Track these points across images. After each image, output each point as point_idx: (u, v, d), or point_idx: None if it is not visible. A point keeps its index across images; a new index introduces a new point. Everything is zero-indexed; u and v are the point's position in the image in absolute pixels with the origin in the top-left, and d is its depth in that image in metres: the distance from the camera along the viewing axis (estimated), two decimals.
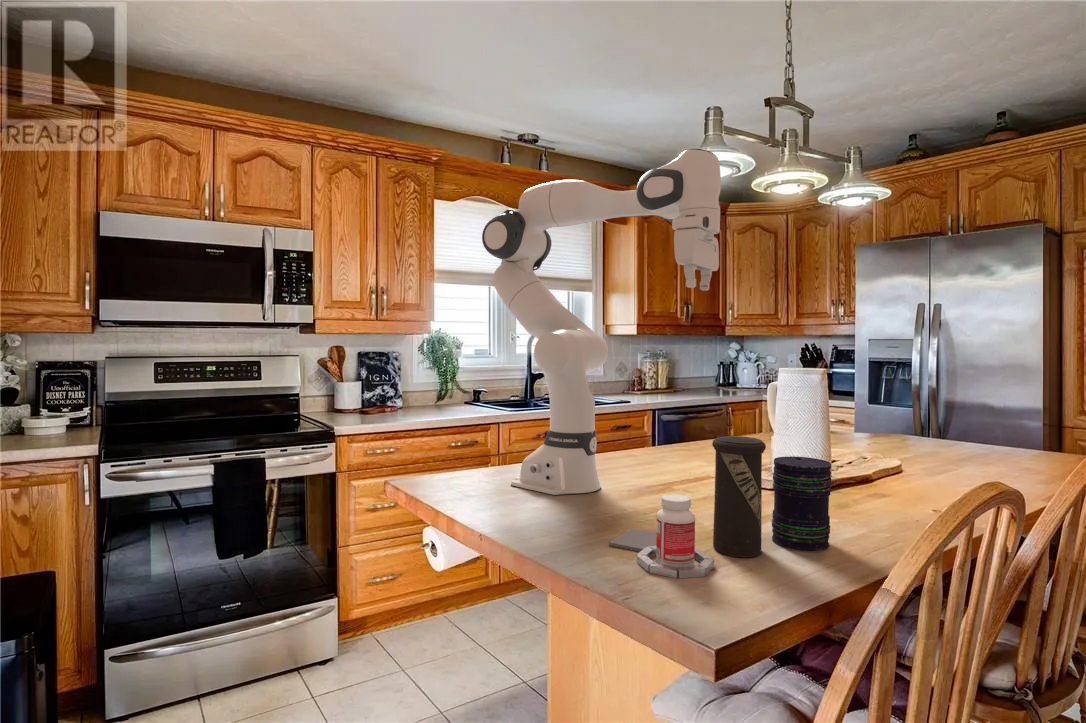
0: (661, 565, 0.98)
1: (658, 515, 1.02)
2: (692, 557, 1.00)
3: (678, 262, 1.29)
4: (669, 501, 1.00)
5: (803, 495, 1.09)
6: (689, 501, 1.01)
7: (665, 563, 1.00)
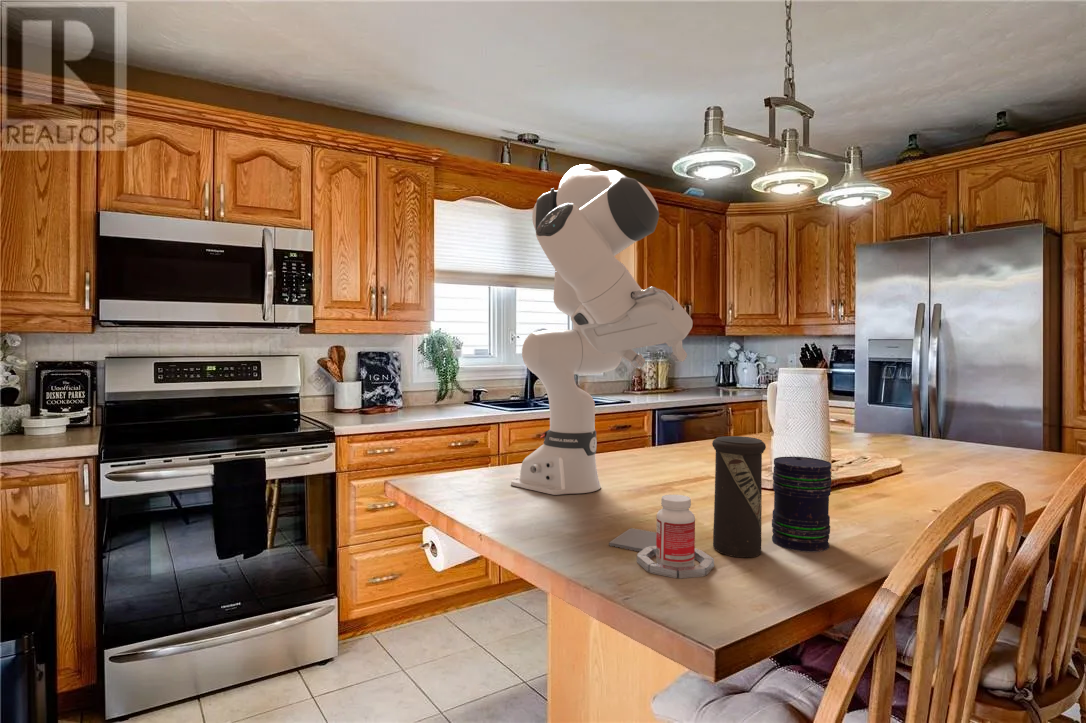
0: (661, 565, 0.98)
1: (658, 515, 1.02)
2: (692, 557, 1.00)
3: None
4: (669, 501, 1.00)
5: (803, 495, 1.09)
6: (689, 501, 1.01)
7: (665, 563, 1.00)
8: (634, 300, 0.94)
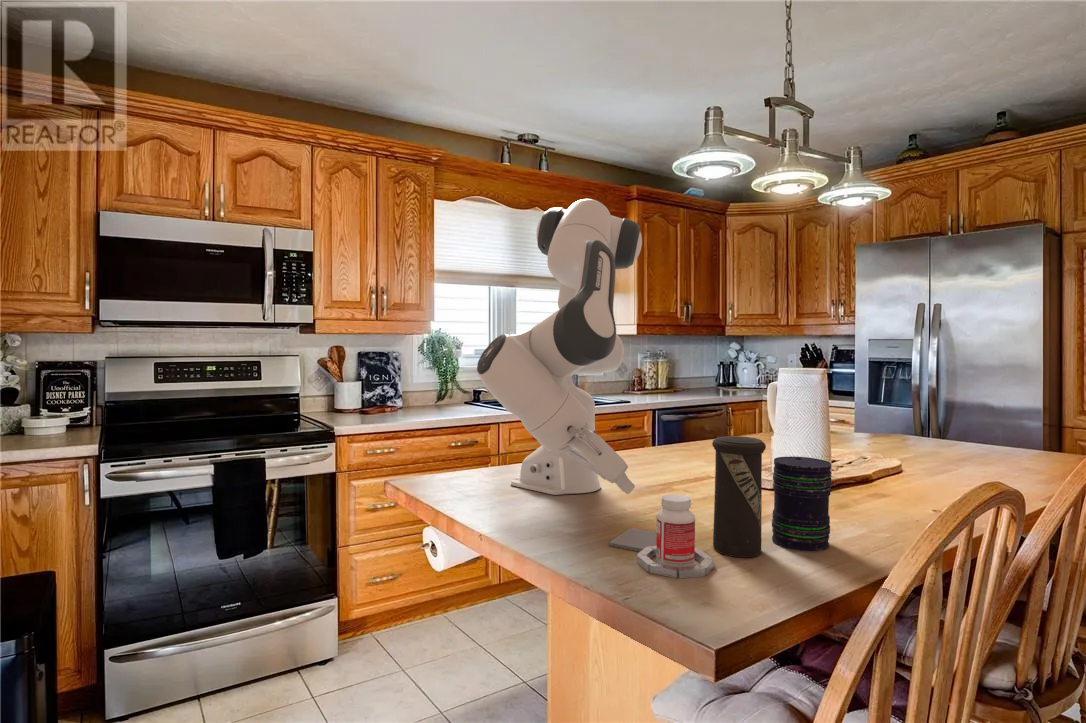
0: (661, 565, 0.98)
1: (658, 515, 1.02)
2: (692, 557, 1.00)
3: None
4: (669, 501, 1.00)
5: (803, 495, 1.09)
6: (689, 501, 1.01)
7: (665, 563, 1.00)
8: (571, 434, 0.92)
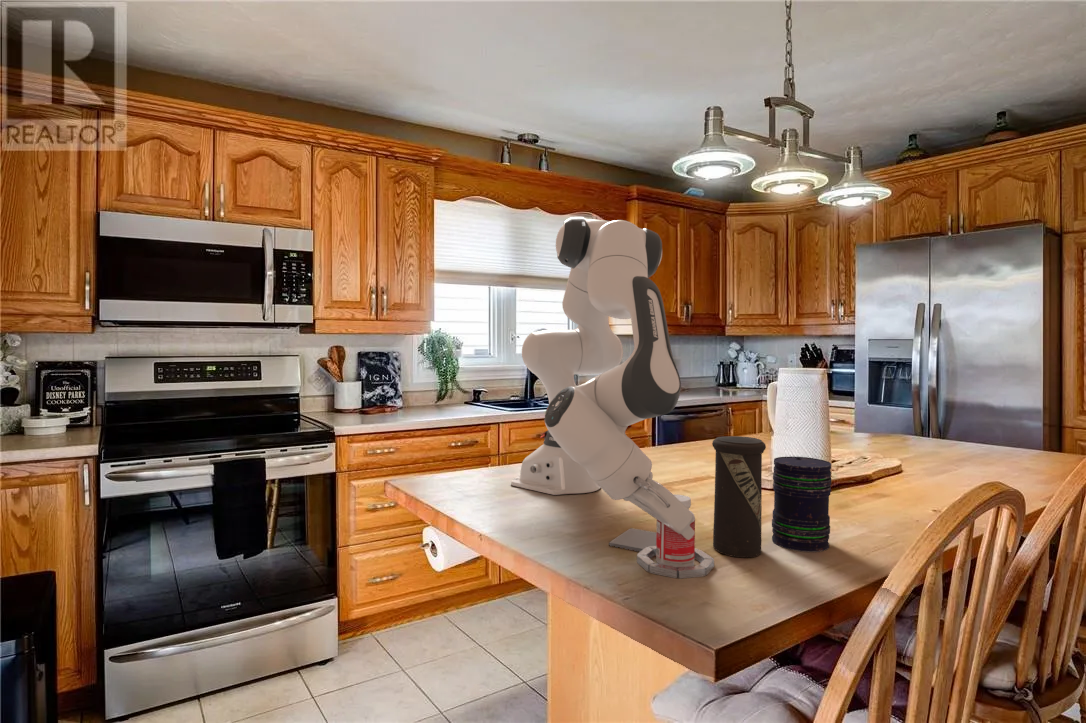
0: (661, 565, 0.98)
1: None
2: (692, 557, 1.00)
3: None
4: None
5: (803, 495, 1.09)
6: (689, 501, 1.01)
7: (665, 563, 1.00)
8: (637, 485, 0.95)
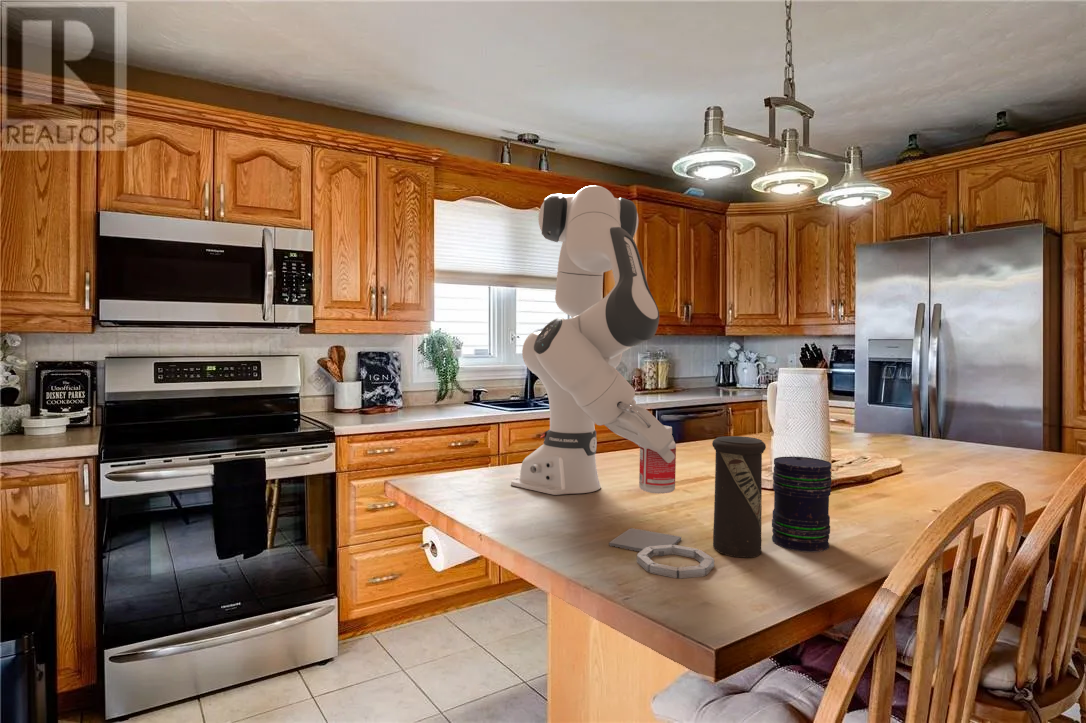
0: (661, 565, 0.98)
1: None
2: (672, 482, 1.06)
3: None
4: None
5: (803, 495, 1.09)
6: (670, 429, 1.07)
7: (647, 487, 1.06)
8: (621, 409, 1.01)
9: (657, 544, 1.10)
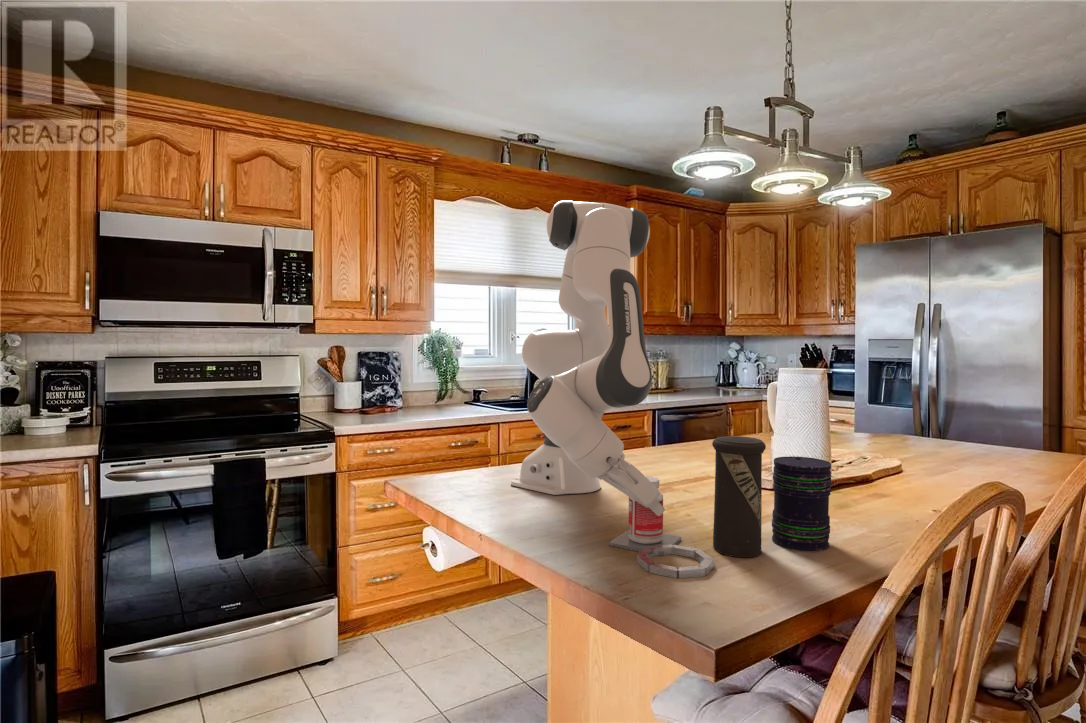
0: (661, 565, 0.98)
1: None
2: (660, 533, 1.11)
3: None
4: None
5: (803, 495, 1.09)
6: (657, 482, 1.11)
7: (636, 538, 1.11)
8: (610, 464, 1.06)
9: (657, 544, 1.10)
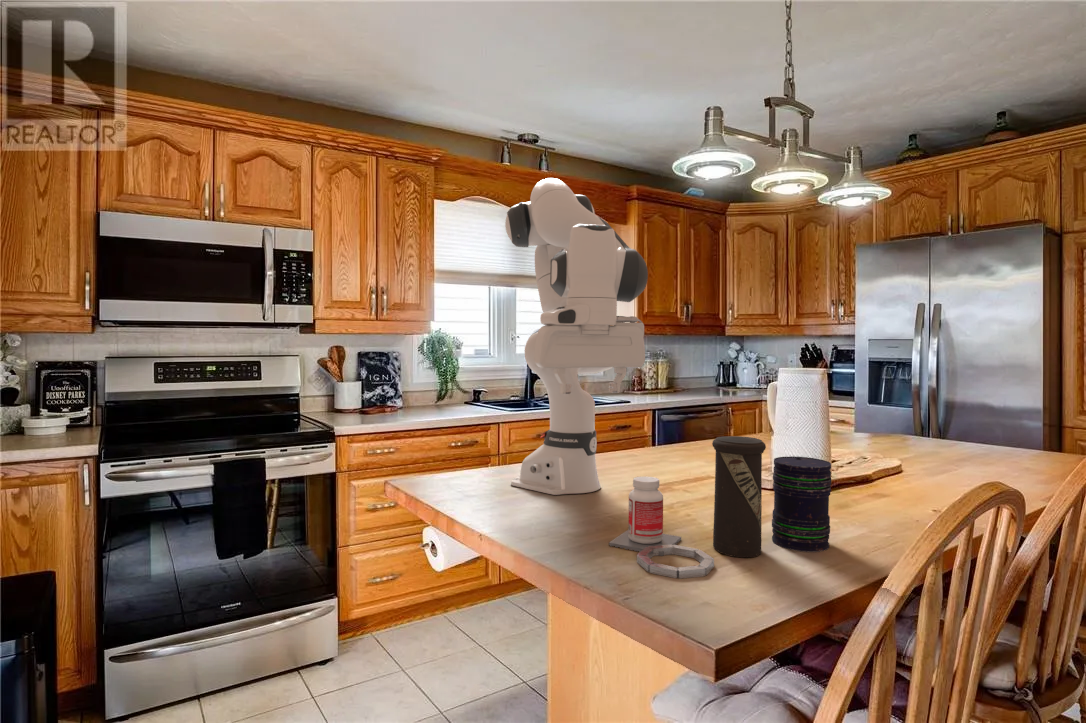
0: (661, 565, 0.98)
1: (630, 495, 1.12)
2: (660, 532, 1.11)
3: (537, 365, 1.09)
4: (639, 482, 1.11)
5: (803, 495, 1.09)
6: (657, 482, 1.11)
7: (636, 538, 1.11)
8: None
9: (657, 544, 1.10)
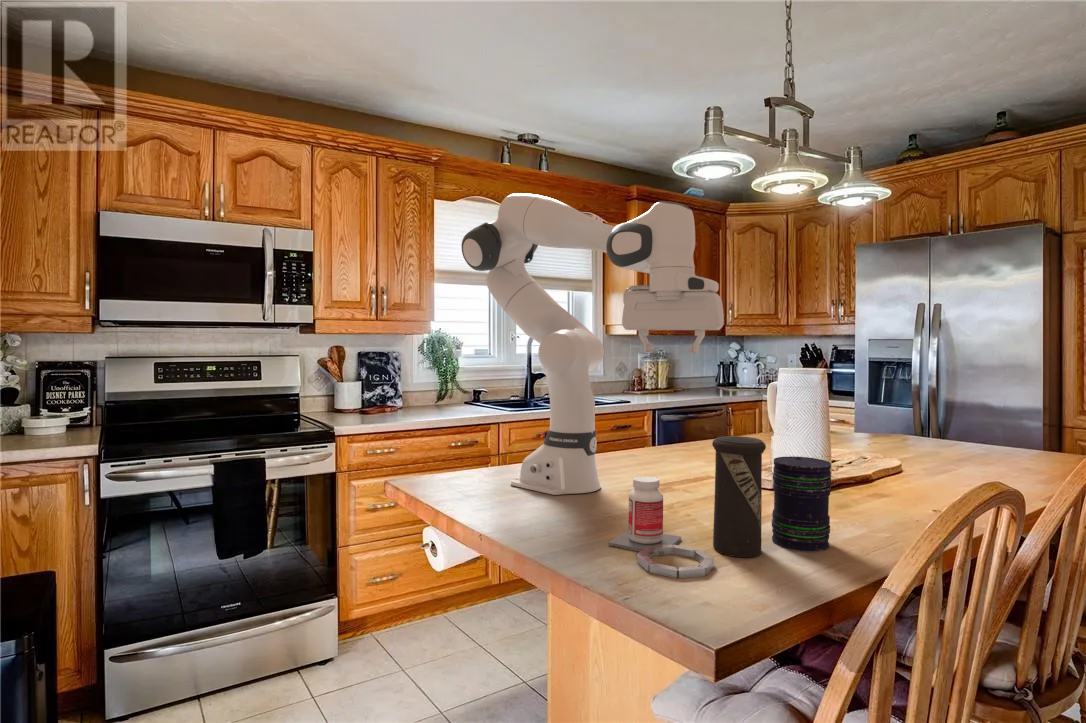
0: (661, 565, 0.98)
1: (630, 495, 1.12)
2: (660, 533, 1.11)
3: (717, 328, 1.19)
4: (639, 482, 1.11)
5: (803, 495, 1.09)
6: (658, 482, 1.11)
7: (636, 538, 1.11)
8: None
9: (657, 544, 1.10)
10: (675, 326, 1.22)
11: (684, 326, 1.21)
